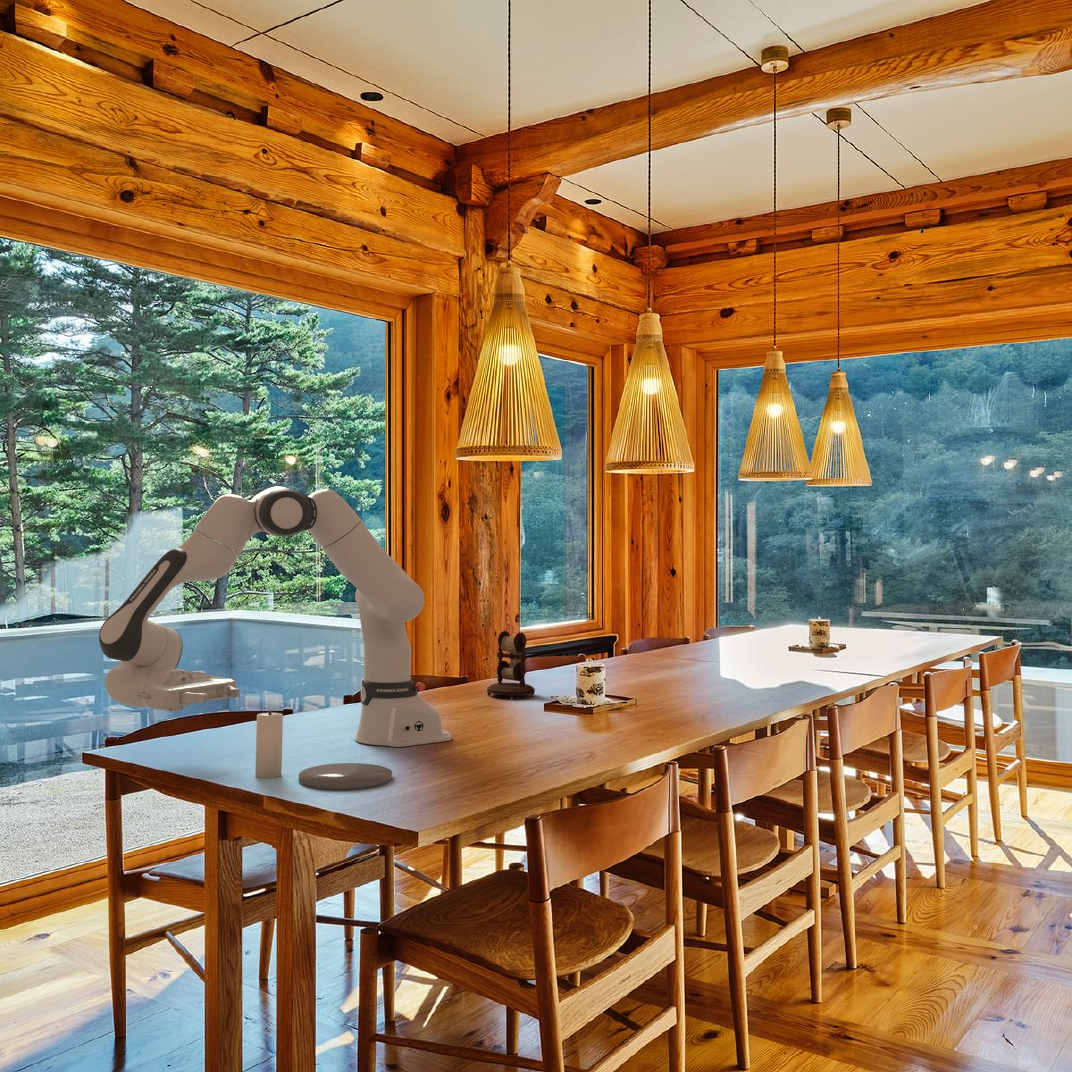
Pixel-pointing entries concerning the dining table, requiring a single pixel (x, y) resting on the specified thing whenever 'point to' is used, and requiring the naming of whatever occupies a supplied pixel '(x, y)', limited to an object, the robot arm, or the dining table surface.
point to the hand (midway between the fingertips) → (221, 695)
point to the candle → (269, 745)
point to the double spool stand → (517, 666)
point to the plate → (345, 776)
